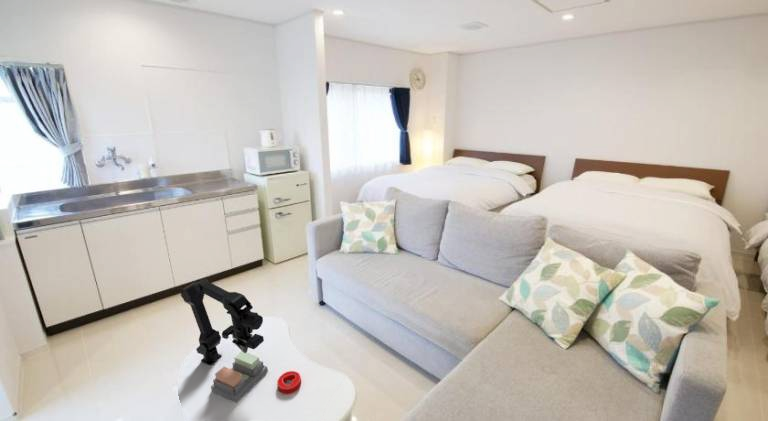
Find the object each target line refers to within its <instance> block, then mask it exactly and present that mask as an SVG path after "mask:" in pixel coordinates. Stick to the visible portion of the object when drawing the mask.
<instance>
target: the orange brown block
mask: <svg viewBox="0 0 768 421" xmlns="http://www.w3.org/2000/svg"><path fill="white" fill-rule="evenodd" d="M214 375H215V378H216V380H217V381H219V382H221V383H223V384H226V385H228V386H230V387H232V388H235V387H236V386H237V385H238V384H239V383H240V382H241V381H242V375H241V373H238V372H236V371H233V370H231V368H228V367H226V366H223V367H221V368H220V369H219V370H218V371H217V372H215V373H214Z"/></svg>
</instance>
